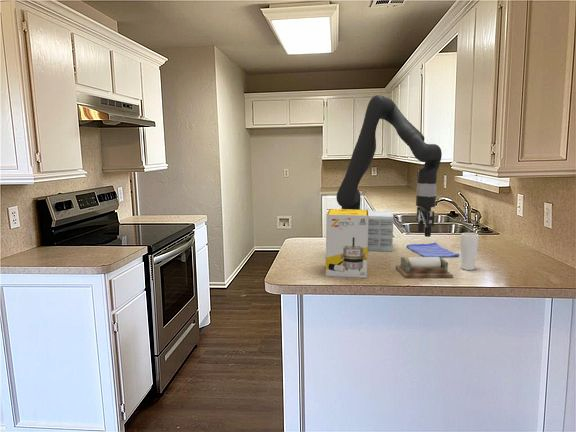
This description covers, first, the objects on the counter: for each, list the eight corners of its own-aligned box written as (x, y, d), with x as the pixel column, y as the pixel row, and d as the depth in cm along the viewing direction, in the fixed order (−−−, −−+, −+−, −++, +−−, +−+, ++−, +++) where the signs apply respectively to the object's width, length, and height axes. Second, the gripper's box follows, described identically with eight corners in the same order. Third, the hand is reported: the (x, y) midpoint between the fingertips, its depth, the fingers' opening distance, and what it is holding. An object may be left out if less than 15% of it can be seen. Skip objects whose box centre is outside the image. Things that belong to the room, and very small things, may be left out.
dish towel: (436, 247, 220) (436, 242, 220) (460, 258, 197) (461, 252, 196) (405, 248, 218) (405, 243, 217) (426, 259, 194) (426, 253, 194)
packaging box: (325, 276, 168) (326, 214, 164) (328, 265, 184) (329, 209, 180) (366, 278, 165) (368, 215, 161) (366, 266, 181) (367, 209, 177)
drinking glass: (475, 271, 173) (477, 236, 171) (457, 269, 176) (460, 234, 174) (477, 268, 179) (480, 233, 176) (460, 265, 182) (462, 232, 180)
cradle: (404, 278, 164) (405, 264, 164) (395, 268, 178) (396, 255, 177) (452, 278, 165) (453, 264, 164) (439, 268, 178) (440, 255, 178)
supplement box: (366, 243, 227) (367, 210, 224) (391, 244, 224) (392, 211, 221) (365, 251, 210) (366, 215, 207) (392, 252, 207) (394, 216, 204)
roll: (409, 272, 169) (410, 258, 168) (406, 268, 174) (406, 255, 173) (441, 272, 168) (441, 258, 168) (436, 268, 174) (437, 255, 173)
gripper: (411, 192, 174) (409, 231, 176) (422, 196, 160) (420, 238, 162) (429, 192, 174) (427, 231, 176) (442, 196, 160) (439, 238, 162)
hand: (424, 234), depth 169 cm, fingers open, 8 cm apart
